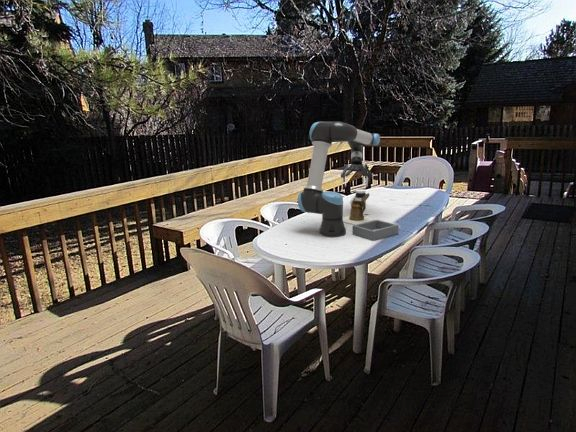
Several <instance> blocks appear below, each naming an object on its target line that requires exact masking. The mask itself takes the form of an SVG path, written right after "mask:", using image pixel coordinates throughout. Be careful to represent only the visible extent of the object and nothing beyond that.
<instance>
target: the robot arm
mask: <svg viewBox="0 0 576 432" xmlns="http://www.w3.org/2000/svg"><path fill="white" fill-rule="evenodd" d="M309 139H310V141H311V144H312V145H313V148H312V149H313V150H312V154H311V161H310V165H309V171H308V177H307V183H306V186H305V187H303V191H301V192H299V193H298V196H297V206H298V209H299V210H300V211H301V212H304V213H308V214H310V213H311V214H318V215H321V217H322V218H321V222H320V225H319V226H320V227H319V230H318V231H319V235H321V236H322V237H323V236H324V237H330V238H331V237H341V236H344V235H346V234H347V233H346V232H347V228H346V226H345V222H343V217H344V214H343V213H344V199H343V198H344V197H343V195H342V194H341V193H339V192H337V191H329V190H327V191H324V190H323V189H322V187H323V181H324V176H325V171H326V170H325V169H326V163H327V158H328V153H329V149H330V148H331V147H332V143H342V142H344V143H345V142H347V144H348V146H349V147H350V153H351V155H350V165H349V164H346V165H345V167H344V169H343V170H342V172H341V173H340V178H341V179H342V178H343V182H344V187H345V188H347V177H348V176H349V175H350V174H351V173H353V172H360V173H362V175H364V177H365V180H366V181H365V182H366V185H365V187H366V188H368V186H369V185H368V184H369V182H370V178H371V179H372V178H373V174H372V172H371V170H370V169H369V167H368V164H367V163H365V164H364V165H363V149H364V146H379V144H380V142H381V135H380V134H379V133H370V132H368V131H364V130H361V129H358V128H356V126H354V125H351V124H350V123H349V124H348V123H346V122H343V121H321V120H320V121H317V122H314V123H312V125H311V127H310V130H309Z"/></svg>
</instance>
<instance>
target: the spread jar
mask: <svg viewBox="0 0 576 432" xmlns="http://www.w3.org/2000/svg"><path fill="white" fill-rule="evenodd" d="M366 194H367V193H366V189H356V190H355V195H353V196H352V197H351V199H350V202H349V204H350V205H351V204H352V201H361V199H362V198H363V196H364V195H366ZM365 204H366V205H367V200H366V201H365Z"/></svg>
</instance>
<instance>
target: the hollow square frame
mask: <svg viewBox="0 0 576 432" xmlns="http://www.w3.org/2000/svg"><path fill="white" fill-rule="evenodd" d="M351 231H352V233H351V234H352V235H354V236H358V237H360V238H364V239H366V240H370V241H377V240H381V239H384V238H387V237H392V236H395V235H398V234H399V224H396V223H391V222H388V221H385V220H379V219H376V220H374V221H370V222H365V223H361V224H357V225H352V230H351Z"/></svg>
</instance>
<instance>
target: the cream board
mask: <svg viewBox="0 0 576 432" xmlns="http://www.w3.org/2000/svg"><path fill="white" fill-rule="evenodd" d="M349 218H350V215H346V216H343V222H344V224H345V223H346V224H349V225H352V226H353V225H357V224H361V223H365V222H370V221H374V220H377V219H374V218H371V217H367V216H364V219H363V220H360V221H354V220H350V219H349Z"/></svg>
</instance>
